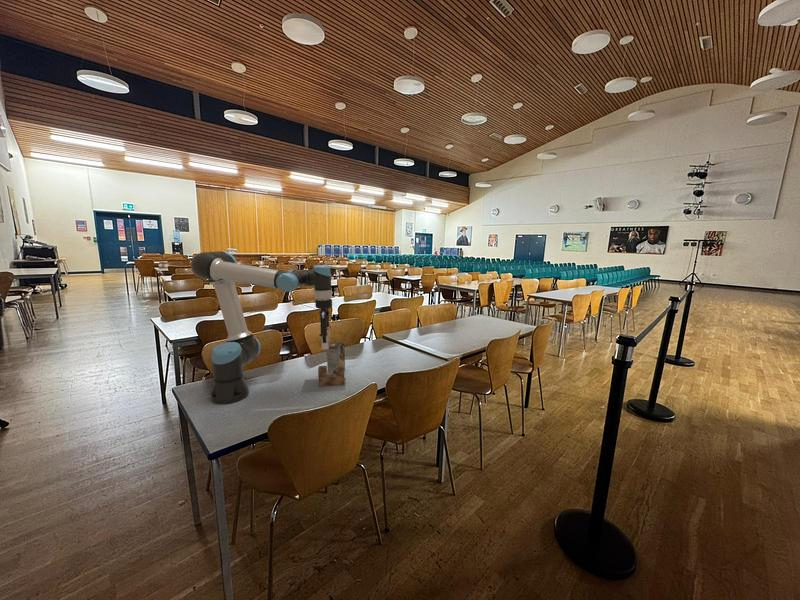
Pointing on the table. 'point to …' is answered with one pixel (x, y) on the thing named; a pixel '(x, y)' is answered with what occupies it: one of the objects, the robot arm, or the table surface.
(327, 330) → the oak plate
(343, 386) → the mat
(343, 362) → the coffee box
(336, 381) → the brown u-shaped block
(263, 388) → the table surface
